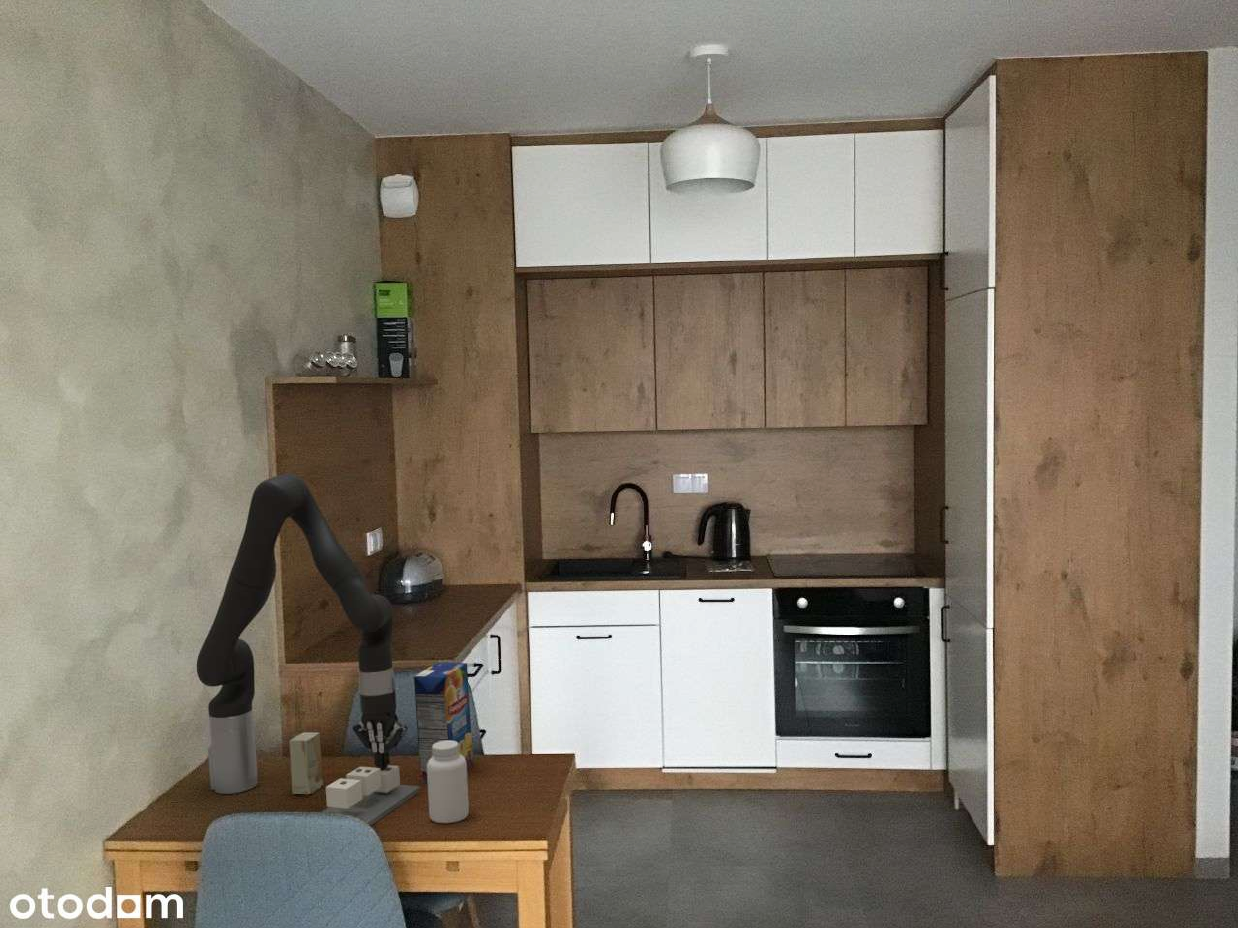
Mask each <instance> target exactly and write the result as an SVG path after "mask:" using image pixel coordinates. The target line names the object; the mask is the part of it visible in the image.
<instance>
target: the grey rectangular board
mask: <svg viewBox="0 0 1238 928" xmlns="http://www.w3.org/2000/svg"><path fill="white" fill-rule="evenodd" d="M420 792H421V787H420V786H419V785H418V786H416V785H405V784H400V785H398V786H397V787H395V788H394V789H392V790H391V791H389V792H388V793H386V792H375V791H374V792H373V793H371V794H370V795H368V796H366V795H362V800H360V801H359V802H357V803H356V804H354V805H353V806H351V807H350V808H348V809H346V808H337V807H327V808H325V809H324V810H322V811H321V812H333V813H341V814H348V815H353V816H356V817H358V818H361V819H363V820H364V821H366V822H367V823H368V824H370V825H371V826H373V825H374V824H376V823H378V821H380V820H382V819H383V818H384V817H386V816H388V814H390V813H392V812H393V811H394V810H395V809H397V808H398V807H400V806H401V805H403V804H404V803H406V802H407V801H408V800H410V799H411V798H413V797H414V796H416V795H417V794H418V793H420Z"/></svg>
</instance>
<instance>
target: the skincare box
mask: <svg viewBox="0 0 1238 928" xmlns="http://www.w3.org/2000/svg"><path fill="white" fill-rule="evenodd" d="M320 734H321V733H320V732H309V731H308V732H306V731H305V732H301V733H299V734H297V735H295V737H293V738H292V739H290V740H289V756H290V771H291V772H290V773H291V788H292V795H293V794H311V793H312V794H313V793H315V792H317V791H318V790H319V789H320V788H322V787H323V786H324V782H323V780H324V779H323V767H322V764H323V763H322V752H321V749H322V748H321V735H320ZM322 785H323V786H322ZM321 786H322V787H321ZM317 789H318V790H317ZM312 794H311V795H312Z"/></svg>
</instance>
